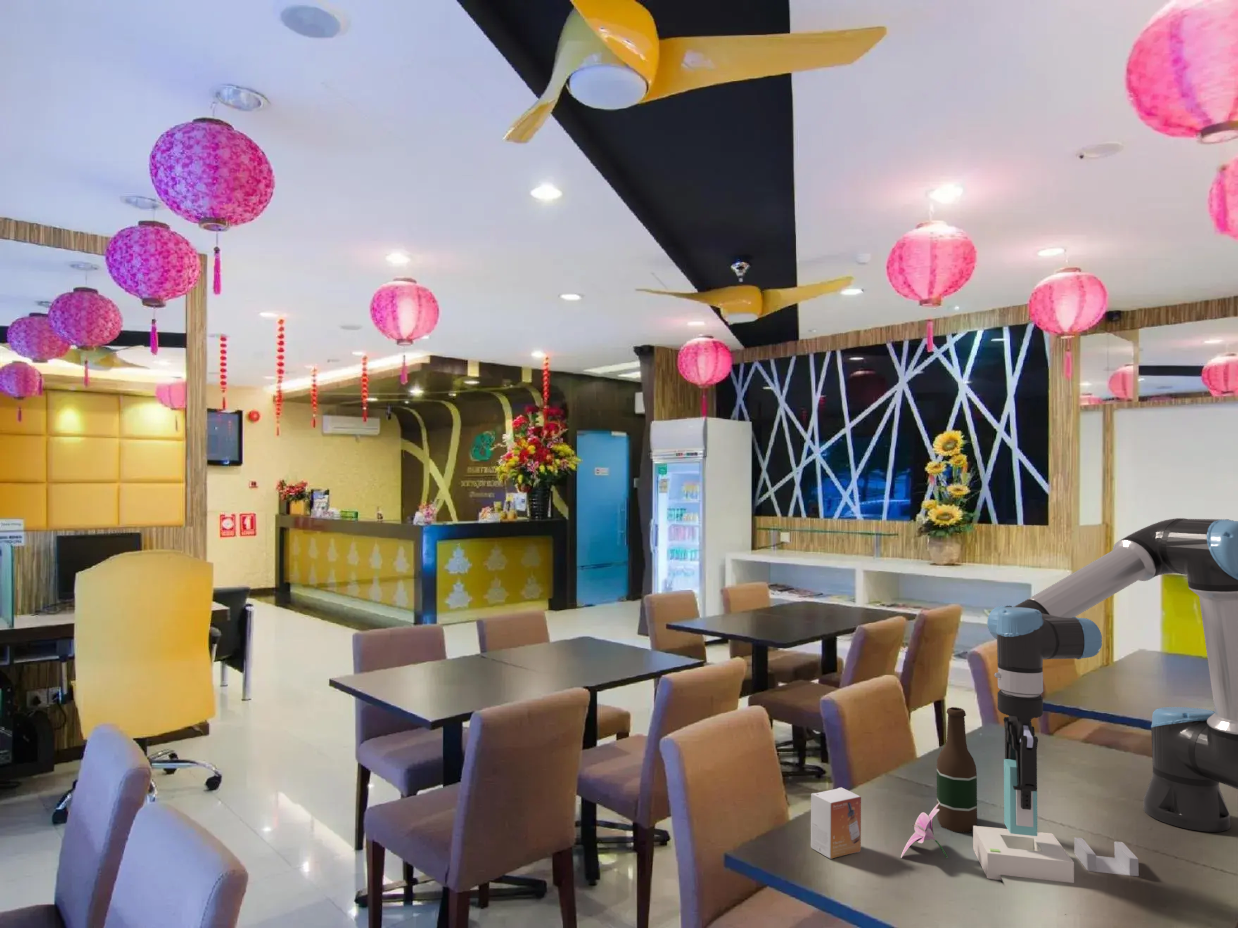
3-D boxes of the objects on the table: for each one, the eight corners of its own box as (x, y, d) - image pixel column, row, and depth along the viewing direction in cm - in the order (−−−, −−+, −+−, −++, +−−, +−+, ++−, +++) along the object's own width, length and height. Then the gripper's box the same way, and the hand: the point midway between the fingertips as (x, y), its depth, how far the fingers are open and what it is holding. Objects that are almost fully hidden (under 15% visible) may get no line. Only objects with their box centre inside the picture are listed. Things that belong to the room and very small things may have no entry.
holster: (1122, 863, 146) (1122, 842, 147) (1138, 881, 140) (1138, 858, 140) (1074, 858, 148) (1074, 837, 148) (1087, 876, 141) (1087, 853, 142)
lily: (927, 841, 157) (902, 797, 159) (979, 837, 149) (952, 791, 150) (901, 879, 149) (874, 832, 150) (954, 877, 141) (926, 828, 142)
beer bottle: (974, 836, 157) (973, 715, 158) (933, 827, 162) (932, 710, 162) (979, 823, 164) (979, 707, 165) (940, 814, 168) (939, 701, 169)
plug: (1030, 825, 146) (1029, 760, 147) (1037, 836, 142) (1036, 768, 142) (1004, 823, 147) (1003, 758, 148) (1010, 833, 143) (1010, 766, 143)
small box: (830, 860, 147) (830, 803, 147) (809, 847, 152) (810, 792, 152) (862, 851, 150) (862, 795, 151) (841, 840, 155) (841, 786, 156)
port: (1052, 857, 149) (1052, 832, 149) (1074, 888, 137) (1073, 860, 137) (973, 848, 152) (973, 824, 152) (987, 878, 140) (987, 851, 140)
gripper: (987, 679, 155) (987, 799, 154) (1010, 702, 138) (1010, 837, 137) (1028, 682, 153) (1029, 803, 152) (1057, 705, 136) (1058, 842, 135)
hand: (1020, 819), depth 145 cm, fingers closed on plug, 4 cm apart
